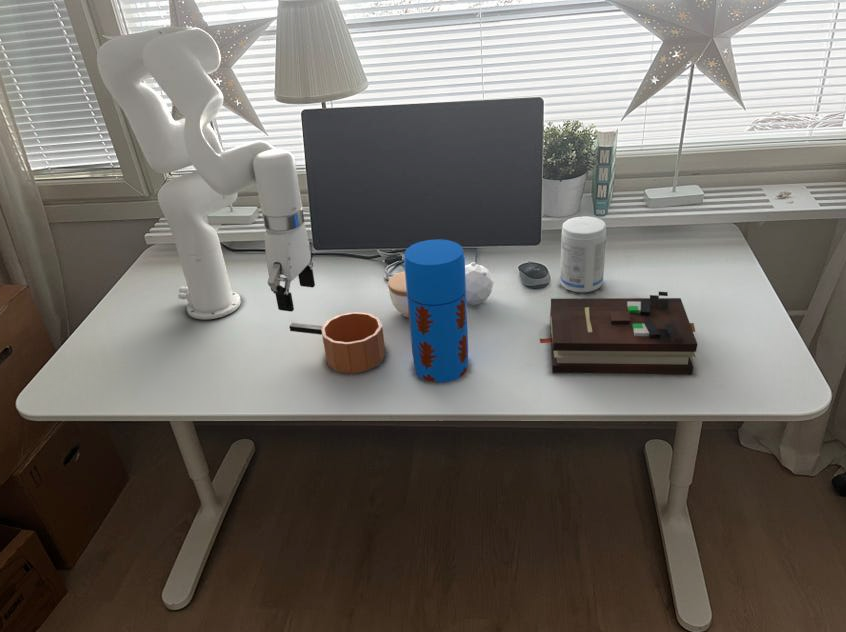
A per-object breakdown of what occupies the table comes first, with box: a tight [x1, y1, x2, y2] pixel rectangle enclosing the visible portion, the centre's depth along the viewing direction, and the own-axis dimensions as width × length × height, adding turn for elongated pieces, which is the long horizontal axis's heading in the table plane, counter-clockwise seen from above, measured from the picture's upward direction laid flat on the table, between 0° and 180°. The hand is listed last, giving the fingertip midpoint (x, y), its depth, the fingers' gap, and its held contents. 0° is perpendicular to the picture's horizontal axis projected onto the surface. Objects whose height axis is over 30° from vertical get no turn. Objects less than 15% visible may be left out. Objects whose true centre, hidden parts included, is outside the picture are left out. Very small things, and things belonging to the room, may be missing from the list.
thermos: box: [403, 238, 469, 384], centre depth 133 cm, size 11×11×25 cm
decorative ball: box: [465, 261, 495, 306], centre depth 160 cm, size 9×10×12 cm
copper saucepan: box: [289, 311, 386, 374], centre depth 145 cm, size 20×12×7 cm, turn 71°
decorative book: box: [539, 291, 698, 376], centre depth 138 cm, size 19×8×30 cm
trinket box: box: [387, 270, 409, 319], centre depth 157 cm, size 11×11×9 cm
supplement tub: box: [559, 216, 607, 293], centre depth 159 cm, size 10×10×15 cm
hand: (297, 297), depth 143 cm, fingers open, 9 cm apart
